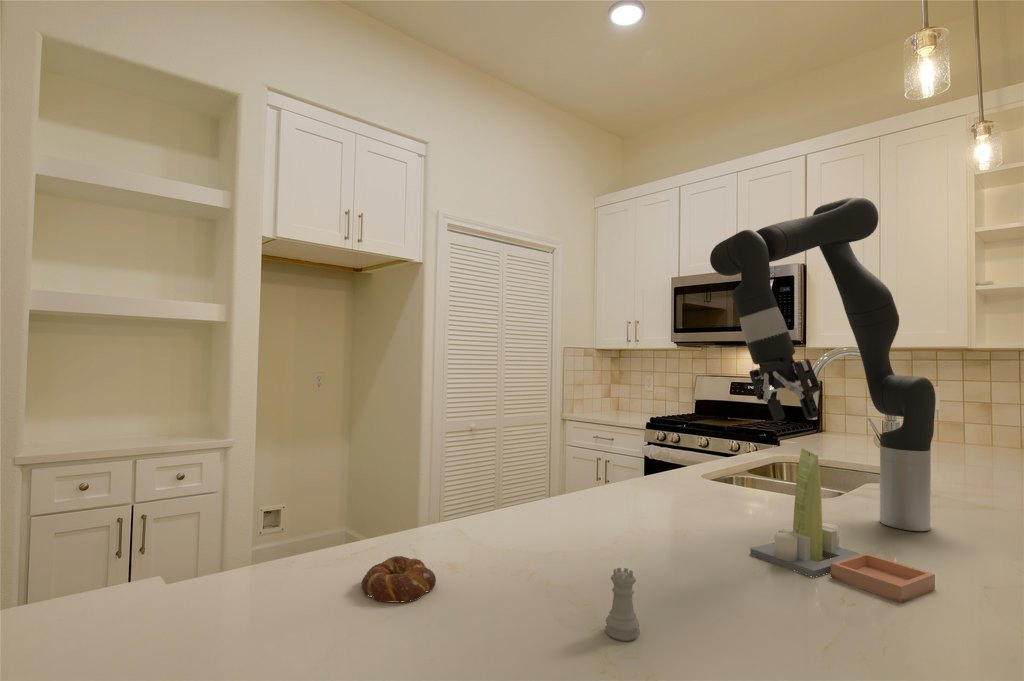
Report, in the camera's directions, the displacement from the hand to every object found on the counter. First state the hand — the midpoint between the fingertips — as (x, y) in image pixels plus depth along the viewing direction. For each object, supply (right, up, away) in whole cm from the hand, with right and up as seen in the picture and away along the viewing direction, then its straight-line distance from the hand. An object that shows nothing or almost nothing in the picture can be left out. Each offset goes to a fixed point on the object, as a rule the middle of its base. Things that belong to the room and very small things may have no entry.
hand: (795, 418), depth 102 cm
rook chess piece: (-38, -24, -30) cm, 54 cm away
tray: (+8, -25, -12) cm, 29 cm away
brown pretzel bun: (-70, -24, -18) cm, 76 cm away
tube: (+1, -25, -1) cm, 26 cm away
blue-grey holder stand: (+1, -25, -1) cm, 25 cm away
